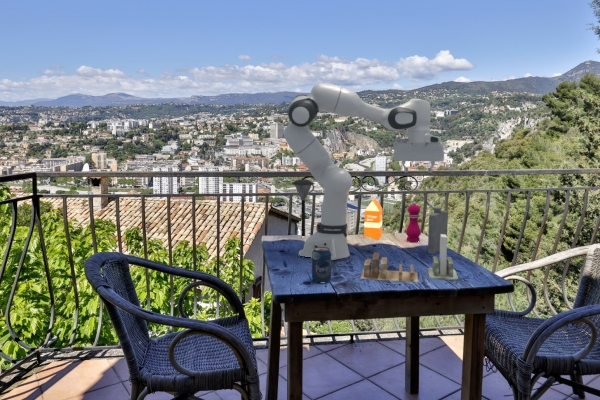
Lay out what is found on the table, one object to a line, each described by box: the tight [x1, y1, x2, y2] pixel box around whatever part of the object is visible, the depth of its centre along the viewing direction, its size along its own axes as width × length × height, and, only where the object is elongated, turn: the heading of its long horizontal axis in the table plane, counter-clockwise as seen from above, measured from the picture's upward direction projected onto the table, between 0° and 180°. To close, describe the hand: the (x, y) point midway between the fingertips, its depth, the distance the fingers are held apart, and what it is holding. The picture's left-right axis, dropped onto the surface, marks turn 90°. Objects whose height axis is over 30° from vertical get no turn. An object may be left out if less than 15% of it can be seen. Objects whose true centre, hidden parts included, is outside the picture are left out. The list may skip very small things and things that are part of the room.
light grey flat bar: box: [438, 234, 448, 275], centre depth 167 cm, size 2×5×14 cm, turn 167°
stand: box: [426, 256, 459, 281], centre depth 168 cm, size 10×12×7 cm
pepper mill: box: [405, 201, 422, 243], centre depth 227 cm, size 7×7×20 cm
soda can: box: [311, 247, 332, 283], centre depth 165 cm, size 7×7×12 cm
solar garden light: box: [291, 179, 316, 237], centre depth 233 cm, size 12×12×30 cm
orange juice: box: [363, 198, 383, 240], centre depth 236 cm, size 8×9×20 cm
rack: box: [360, 252, 419, 283], centre depth 167 cm, size 20×12×8 cm, turn 78°
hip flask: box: [427, 206, 449, 255], centre depth 208 cm, size 16×4×20 cm, turn 140°
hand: (417, 172), depth 189 cm, fingers open, 8 cm apart
